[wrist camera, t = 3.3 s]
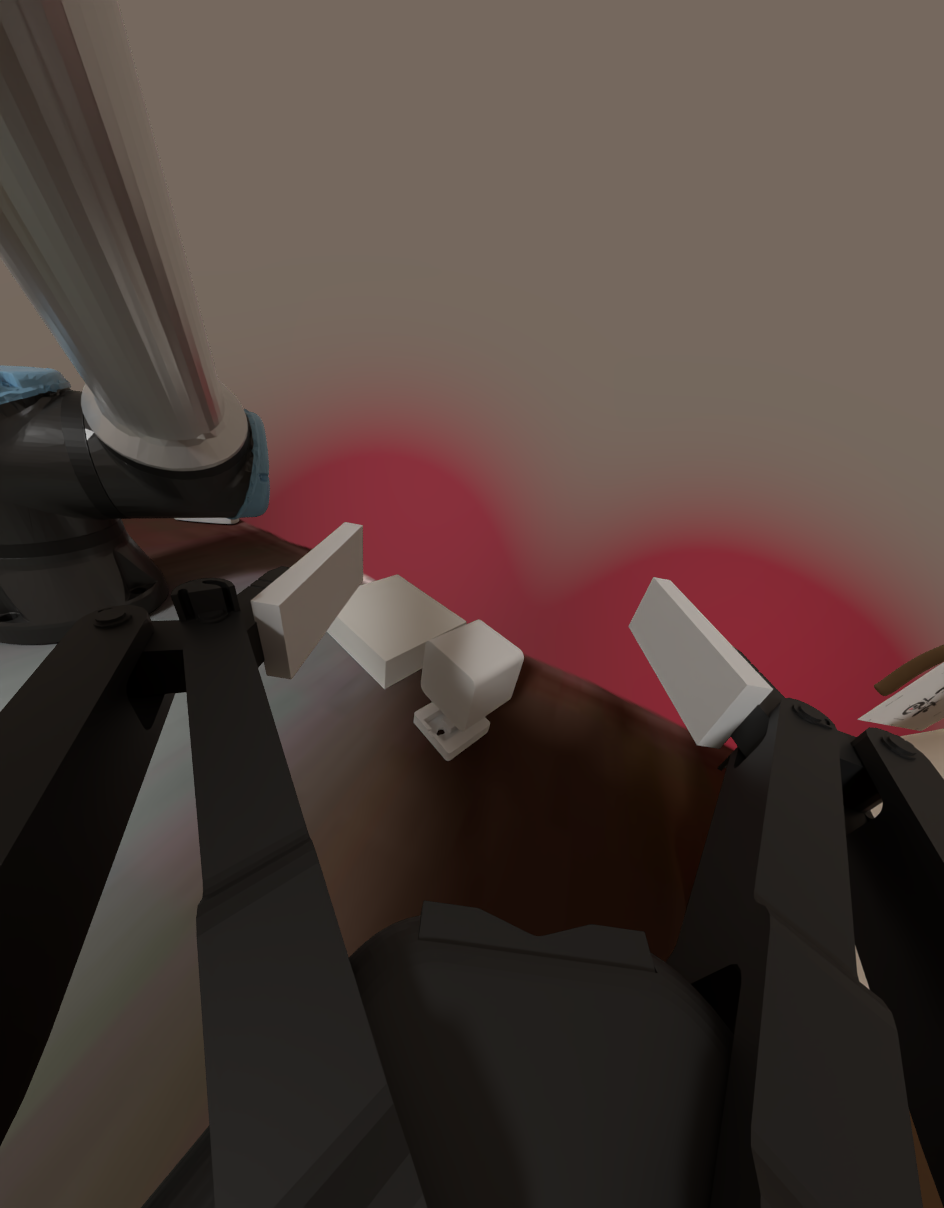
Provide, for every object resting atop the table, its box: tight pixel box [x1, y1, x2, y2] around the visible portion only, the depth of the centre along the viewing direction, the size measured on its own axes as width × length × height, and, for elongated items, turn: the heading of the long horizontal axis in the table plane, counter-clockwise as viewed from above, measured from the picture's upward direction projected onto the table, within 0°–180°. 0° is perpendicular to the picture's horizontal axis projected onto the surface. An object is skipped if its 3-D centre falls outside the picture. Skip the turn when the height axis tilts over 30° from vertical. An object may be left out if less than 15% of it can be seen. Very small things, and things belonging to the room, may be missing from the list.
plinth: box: [327, 575, 466, 689], centre depth 43 cm, size 14×12×4 cm
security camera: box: [414, 620, 524, 761], centre depth 31 cm, size 6×7×10 cm
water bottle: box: [855, 645, 944, 990], centre depth 15 cm, size 10×9×28 cm
